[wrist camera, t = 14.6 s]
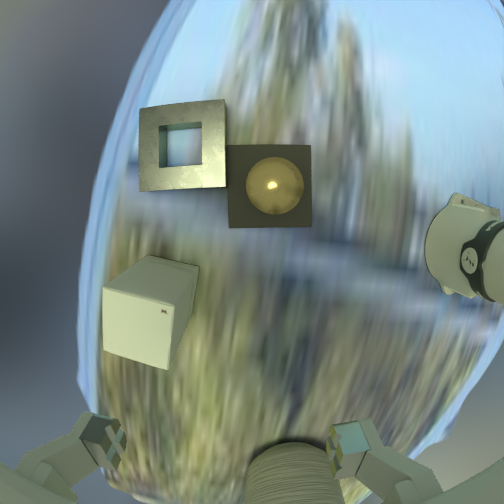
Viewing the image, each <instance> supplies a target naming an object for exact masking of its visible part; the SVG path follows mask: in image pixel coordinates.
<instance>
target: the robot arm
mask: <svg viewBox="0 0 504 504" xmlns="http://www.w3.org/2000/svg"><path fill="white" fill-rule="evenodd" d="M461 200H462V203H461ZM425 258H426V263H427V266H428V269H429V271H430V273H431V274H432V276H433V277H434V278H435V279H436V280H438V282H439V283H440V286H441V289H442V291H443V293H445V294H447V295H449V294H452V293H454V292H457V293H459V294H462V295H464V296H466V297H468V298H473V297H475V296H477V295H479V296H480V297H482V298H483V299H486V300H489V301H491V302H498V303H499V304H501V305H503V306H504V221H502V220H501V217H500V214H499V209H496V208H492V207H487V206H485V205H483V204H481V203H479V202H477V201H475V200H472V199H470V198H468V197H466V196H464V195H461V194H458V193H454V194H453V195H452V197H451V199H450V201H449V203H448V205H447V206H446V207H445V208H444V209H443V210H442V211H440V212H439V213H438V215H437V216H436V217H435V219H434V220H433V222H432V224H431V226H430V228H429V231H428V234H427V238H426V244H425ZM120 426H121V424H120V422H119V420H118V419H115V418H111V417H106V416H103V415H99V414H95V413H91V412H87V411H85V412H83V413H82V415H81V416H80V418H79V419H78V421H77V422H76V424H75V425H74V427H73V428H72V430H71V432H70V433H69V435H63V436H61V437H59V438H57V439H55V440H53V441H51V442H49V443H47V444H44V445H42V446H40V447H37V448H35V449H33V450H31V451H28V452H26V454H25V455H24V457H23V458H22V460H21V461H20V463H19V464H18V466H17V467H16V469H15V470H12V469H11V468H9V467H8V466H6V465H4V464H3V463H1V462H0V504H79V503H76V501H77V499H78V496H77V495H76V493H75V492H73V490H72V489H71V488H70V487H72V486H73V485H74V484H76V483H78V482H79V481H80V480H82V479H83V478H85V477H86V476H87V475H89V474H90V473H91V472H93V471H94V470H96V469H97V468H98V466H99V467H103V468H107V469H111V470H115V471H116V470H117V468H118V465H119V463H120V461H121V458H120V456H119V455H120V454H122V453H123V452H124V451H125V448H126V443H127V439H126V435H125V433H124V431H122V430H121V429H120ZM329 431H330V436H329V437H328V438H327V443H326V450H327V456H328V459H329V460H331V461H332V464H331V467H330V468H331V471H332V475H333V479H334V480H336V479H342V478H348V477H353V476H355V478H357V479H358V480H359V481H360V482H361V483H363V484H364V485H365V486H366V487H368V488H369V489H370V490H371V491H373V492H374V493H375V494H376V495H378V496H379V497H380V498H381V499H383V500H384V501H383V503H382V504H504V457H502V458H501V459H500V460H498V461H497V462H495V463H494V464H492V465H491V466H489V467H488V468H486V469H484V470H483V471H481V472H480V473H478V474H476V475H475V476H473V477H471V478H469V479H468V480H466V481H464V482H462V483H460V484H459V485H457V486H455V487H453V488H451V489H449V490H447V491H445V492H443V490H442V488H441V486H440V484H439V483H438V481H437V479H436V477H435V475H434V473H433V471H432V470H431V469H429V468H427V467H426V466H424V465H422V464H419V463H418V462H416V461H414V460H412V459H410V458H408V457H407V456H405V455H403V454H401V453H399V452H397V451H396V450H394V449H392V448H390V447H389V446H385V447H384V445H383V443H382V441H381V439H380V437H379V435H378V433H377V431H376V429H375V427H374V424H373V422H372V420H371V419H370V418H367V419H362V420H357V421H356V420H355V421H350V422H345V423H339V424H332V425H331V426H330V430H329Z"/></svg>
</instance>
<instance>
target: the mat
mask: <svg viewBox="0 0 504 504" xmlns="http://www.w3.org/2000/svg"><path fill="white" fill-rule="evenodd" d="M270 157H279V158H284V159H286V160H288V161H290V162H291V163H293V164H294V165H295V166H296V167H297V168H298V170H299V171H300V173H301V175H302V178H303V182H304V190H303V194H302V197H301V199H300V201H299V202H298V204H297V205H296V206H295V207H294V208H293V209H291V210H290V211H288V212H286V213H283V214H268V213H265V212H262V211H260V210H259V209H257V208H256V207H255V206H254V205H253V204H252V202H251V201H250V199H249V197H248V195H247V191H246V180H247V176H248V174H249V172H250V170H251V169H252V167H253V166H254V165H255V164H256V163H258V162H259V161H261V160H263V159H266V158H270ZM227 175H228V215H229V228H265V227H311V211H312V193H311V145H227Z"/></svg>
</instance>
